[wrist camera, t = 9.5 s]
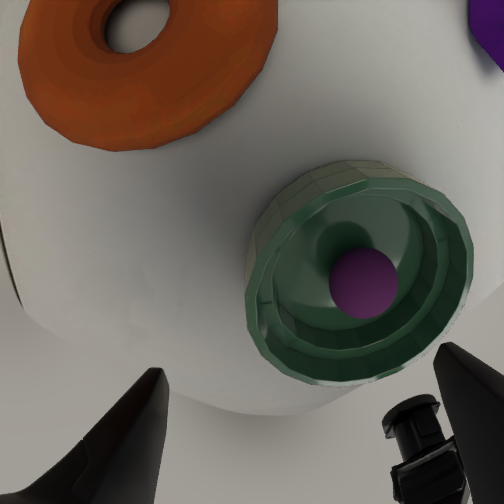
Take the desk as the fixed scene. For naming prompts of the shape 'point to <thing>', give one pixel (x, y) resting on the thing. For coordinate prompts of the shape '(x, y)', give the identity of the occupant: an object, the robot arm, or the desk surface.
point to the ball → (363, 282)
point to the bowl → (328, 252)
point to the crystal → (489, 27)
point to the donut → (141, 69)
